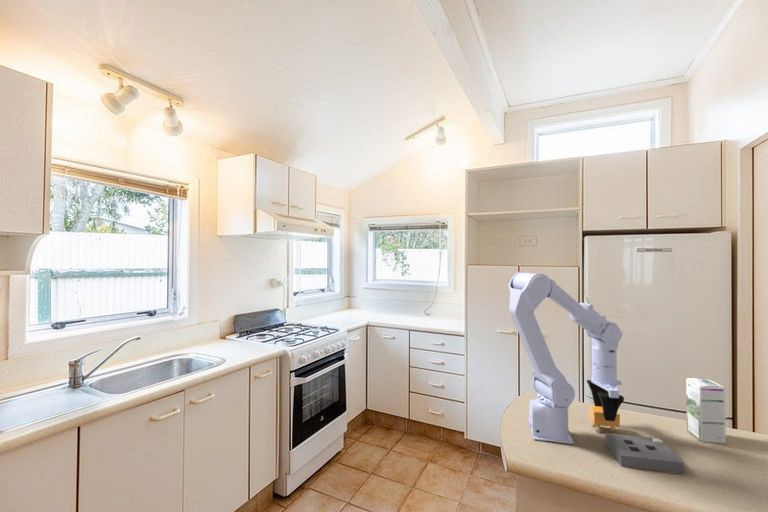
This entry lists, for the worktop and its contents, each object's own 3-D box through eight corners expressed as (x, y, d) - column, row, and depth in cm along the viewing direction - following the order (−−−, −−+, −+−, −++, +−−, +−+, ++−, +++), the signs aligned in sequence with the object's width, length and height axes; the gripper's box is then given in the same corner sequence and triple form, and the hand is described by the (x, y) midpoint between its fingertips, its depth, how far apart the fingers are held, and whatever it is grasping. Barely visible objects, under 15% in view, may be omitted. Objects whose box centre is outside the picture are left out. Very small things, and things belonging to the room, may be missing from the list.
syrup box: (727, 444, 87) (727, 386, 87) (699, 441, 89) (699, 385, 88) (710, 432, 93) (710, 378, 93) (685, 430, 94) (685, 377, 94)
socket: (621, 466, 79) (621, 452, 79) (605, 442, 89) (605, 430, 89) (683, 474, 76) (683, 460, 76) (660, 448, 86) (660, 436, 86)
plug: (594, 432, 94) (594, 412, 94) (589, 425, 98) (589, 405, 98) (619, 435, 92) (619, 414, 92) (613, 427, 96) (613, 407, 96)
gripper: (632, 374, 87) (632, 428, 87) (610, 357, 101) (611, 403, 101) (600, 372, 88) (601, 425, 89) (583, 355, 102) (583, 401, 103)
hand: (604, 413), depth 95 cm, fingers open, 7 cm apart
